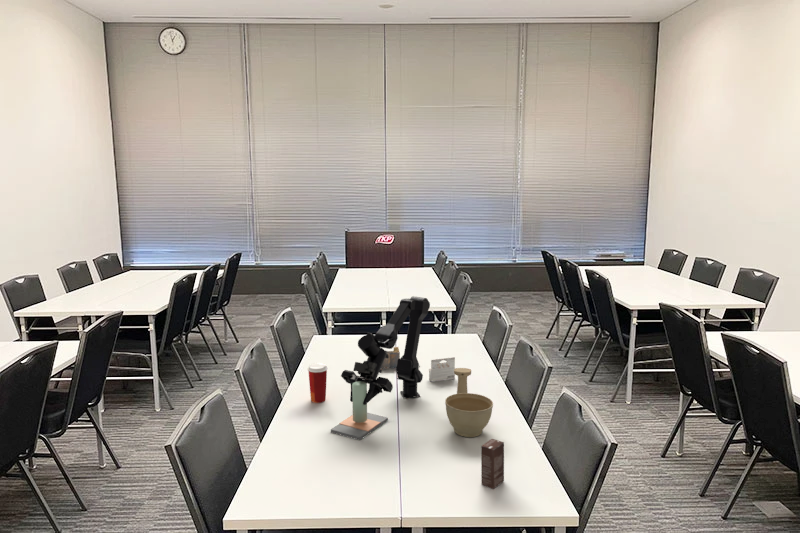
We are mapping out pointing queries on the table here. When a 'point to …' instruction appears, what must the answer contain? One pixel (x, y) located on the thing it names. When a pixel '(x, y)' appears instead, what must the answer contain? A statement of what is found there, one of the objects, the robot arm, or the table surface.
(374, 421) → the grey orange flat block
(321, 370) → the paper cup
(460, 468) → the table surface
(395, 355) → the architectural model on board
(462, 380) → the handle
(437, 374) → the ink cartridge box
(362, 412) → the green cylinder
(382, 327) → the robot arm
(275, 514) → the table surface
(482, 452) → the box
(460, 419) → the planter bowl
